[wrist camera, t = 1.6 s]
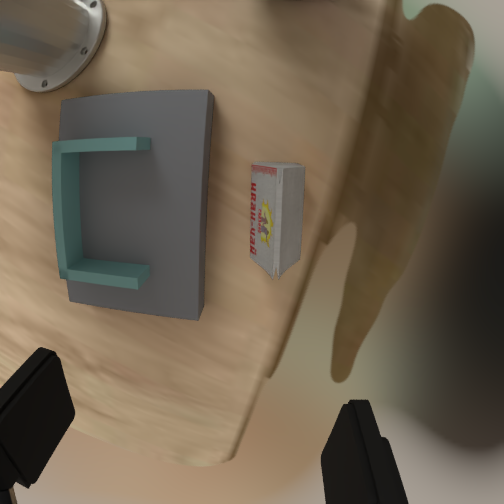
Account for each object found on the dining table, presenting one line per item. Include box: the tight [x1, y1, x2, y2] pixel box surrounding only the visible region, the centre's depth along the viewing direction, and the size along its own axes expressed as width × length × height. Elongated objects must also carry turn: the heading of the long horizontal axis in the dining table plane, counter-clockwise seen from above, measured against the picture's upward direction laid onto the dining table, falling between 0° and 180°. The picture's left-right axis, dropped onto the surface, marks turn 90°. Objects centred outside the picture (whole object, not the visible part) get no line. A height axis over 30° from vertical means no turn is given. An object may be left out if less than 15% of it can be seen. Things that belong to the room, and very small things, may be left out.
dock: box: [52, 90, 214, 321], centre depth 26 cm, size 20×14×6 cm
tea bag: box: [250, 162, 305, 280], centre depth 24 cm, size 4×7×10 cm, turn 179°
